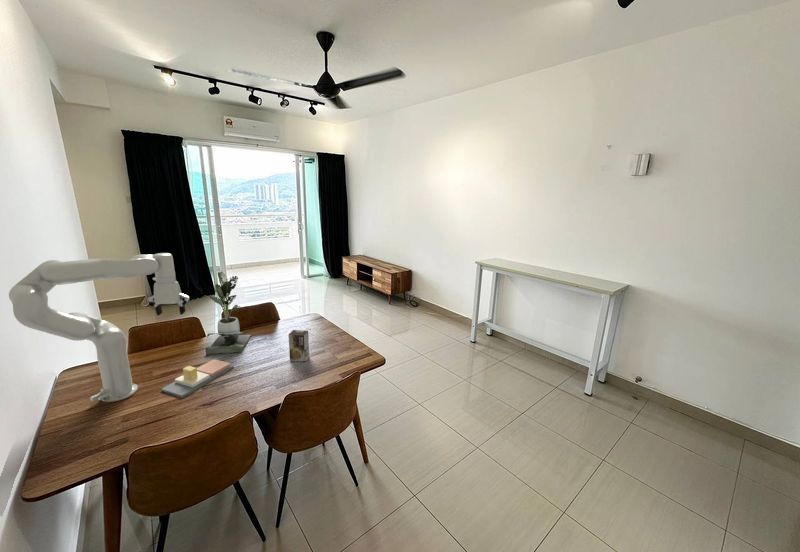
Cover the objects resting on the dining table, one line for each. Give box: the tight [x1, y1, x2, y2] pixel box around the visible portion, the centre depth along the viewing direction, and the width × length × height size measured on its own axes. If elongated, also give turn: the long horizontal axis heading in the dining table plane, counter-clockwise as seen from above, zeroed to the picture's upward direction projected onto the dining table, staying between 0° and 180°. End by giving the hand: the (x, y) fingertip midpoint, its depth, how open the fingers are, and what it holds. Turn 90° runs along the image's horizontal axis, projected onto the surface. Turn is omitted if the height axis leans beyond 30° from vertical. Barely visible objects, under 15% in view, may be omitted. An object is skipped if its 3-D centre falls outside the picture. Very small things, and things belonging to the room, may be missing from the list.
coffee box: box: [287, 329, 310, 362], centre depth 175 cm, size 9×6×16 cm
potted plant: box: [205, 271, 252, 355], centre depth 184 cm, size 22×19×45 cm
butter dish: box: [174, 365, 210, 388], centre depth 149 cm, size 9×11×7 cm
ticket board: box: [160, 358, 234, 399], centre depth 154 cm, size 28×13×3 cm, turn 161°
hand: (171, 313), depth 151 cm, fingers open, 9 cm apart
